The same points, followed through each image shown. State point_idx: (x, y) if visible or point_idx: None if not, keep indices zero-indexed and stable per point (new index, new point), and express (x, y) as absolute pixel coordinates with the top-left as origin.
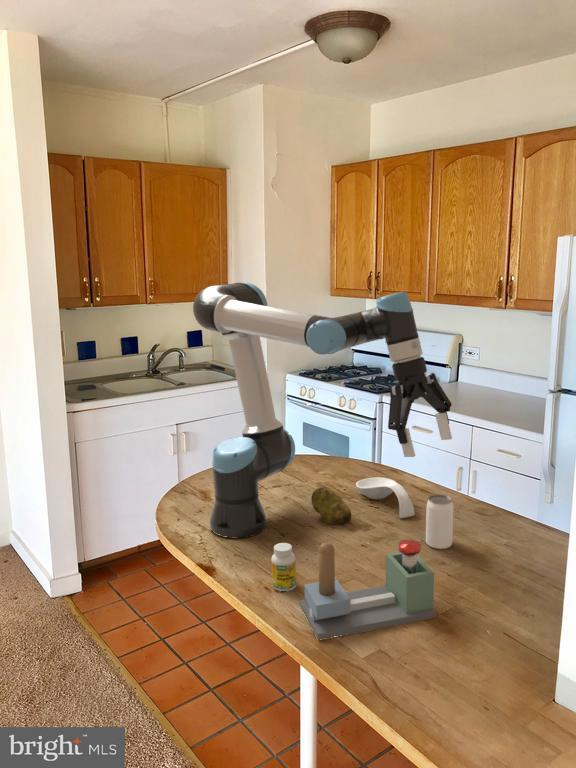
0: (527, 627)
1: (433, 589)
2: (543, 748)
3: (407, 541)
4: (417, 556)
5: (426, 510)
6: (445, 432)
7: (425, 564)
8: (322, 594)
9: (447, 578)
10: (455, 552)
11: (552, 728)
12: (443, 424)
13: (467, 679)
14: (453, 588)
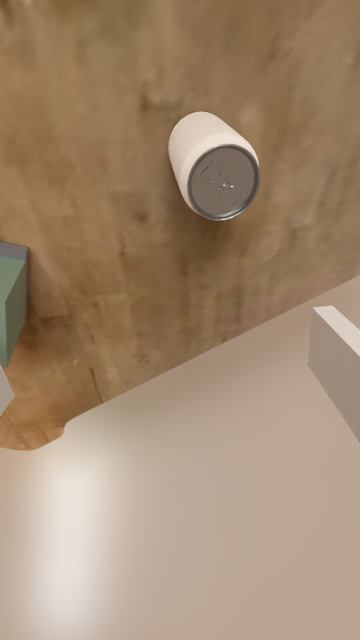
0: (123, 371)
1: (15, 345)
2: (19, 444)
3: None
4: (4, 323)
5: (187, 144)
6: (328, 371)
7: (5, 347)
8: None
9: (112, 260)
10: None
11: (40, 438)
12: (357, 409)
13: None
14: (100, 284)
